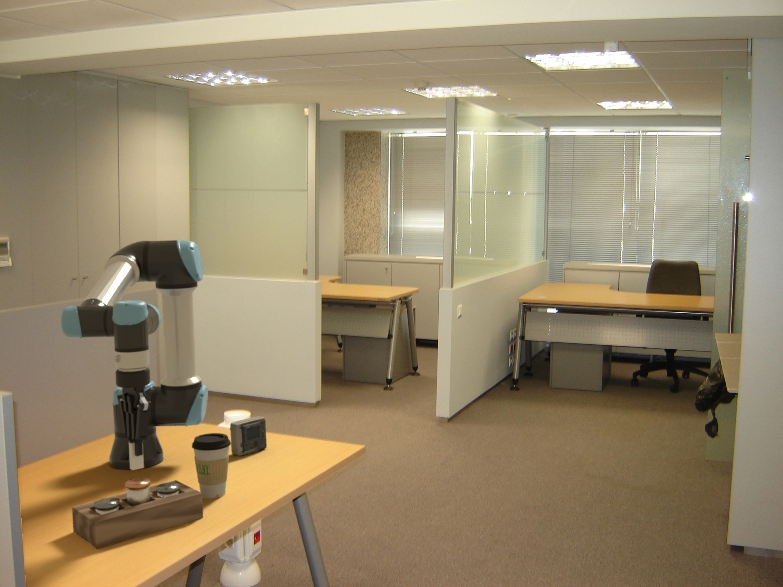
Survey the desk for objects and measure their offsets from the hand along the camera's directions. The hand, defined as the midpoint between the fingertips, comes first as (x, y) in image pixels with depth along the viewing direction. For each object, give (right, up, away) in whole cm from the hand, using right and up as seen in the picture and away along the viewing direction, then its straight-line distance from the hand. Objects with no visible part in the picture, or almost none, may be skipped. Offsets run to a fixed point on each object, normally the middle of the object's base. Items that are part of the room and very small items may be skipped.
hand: (136, 468), depth 188 cm
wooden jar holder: (0, -14, +2) cm, 14 cm away
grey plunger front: (-5, -14, -4) cm, 15 cm away
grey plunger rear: (+6, -12, +7) cm, 15 cm away
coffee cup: (+13, -12, +21) cm, 28 cm away
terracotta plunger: (0, -10, +1) cm, 10 cm away
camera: (+16, -8, +58) cm, 61 cm away
